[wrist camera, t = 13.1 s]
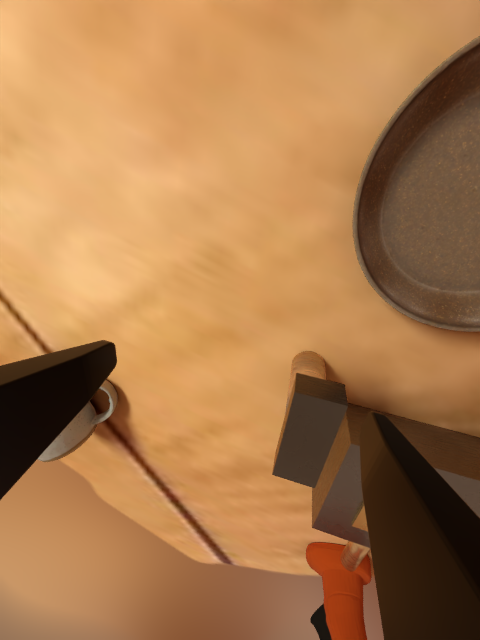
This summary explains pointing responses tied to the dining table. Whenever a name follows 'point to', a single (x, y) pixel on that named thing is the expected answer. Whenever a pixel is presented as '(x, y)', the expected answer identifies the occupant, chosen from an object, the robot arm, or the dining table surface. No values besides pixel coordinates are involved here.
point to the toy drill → (339, 593)
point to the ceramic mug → (79, 428)
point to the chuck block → (345, 476)
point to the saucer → (427, 200)
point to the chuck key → (309, 421)
